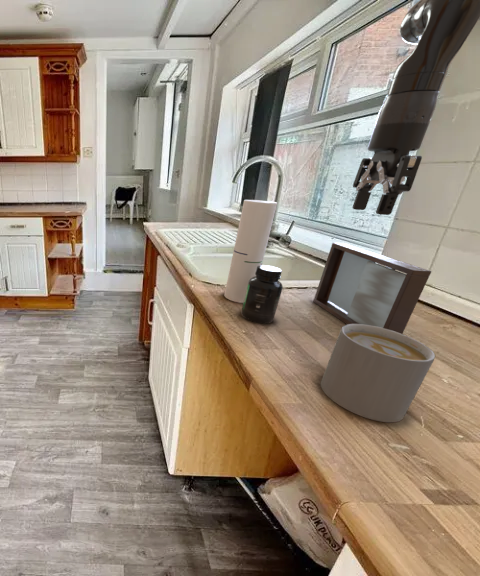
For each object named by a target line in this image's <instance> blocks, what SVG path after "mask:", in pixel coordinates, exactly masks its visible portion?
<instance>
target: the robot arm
mask: <svg viewBox="0 0 480 576" xmlns="http://www.w3.org/2000/svg"><path fill="white" fill-rule="evenodd" d="M479 21H480V0H418V1H417V2H416V3H415V4H414V5H413V6H412V7H411V8H410V9H409V10H408V11H407V13H406V14H405V16H404V17H403V19H402V20H401V24H400V27H399V34H400V37H401V39H402V41H404V42H405V43H407V44H410V45H416V46H415V48H414V49H413V51H412V52H411V53H410V54H409V55H408V56H407V57H405V59H403V60H401V62H399V64H398V65H397V67H396V68H395V70H394V73H393V75H392V78H391V81H390V84H389V87H388V90H387V93H386V96H385V98H384V100H383V103H382V106H381V107H380V110H379V112H378V115H377V117H376V121H375V124H374V127H373V130H372V133H371V136H370V139H369V141H368V146H367V151H368V152H373V156H372V157H367V158H366V157H363V158H362V159H361V162H360V164H359V167H358V169H357V172H356V175H355V177H354V180H353V184H352V188H355V189H356V190H355V191H356V192H357V193H356V196H355V199H354V200H353V204H352V210H356V211H365V210H366V208H367V206H368V203H369V200H370V197H371V195H372V191H373V190H374V188H375V187H376V186H377V185H379V184H380V185H382V194H381V196H380V199H379V202H378V205H377V208H376V210H375V214H376V215H379V216H380V215H381V216H382V215H384V216H389V215H391V214H392V212H393V210H394V208H395V205H396V202H397V199H398V197H399V196H400V195H402V194H403V193H404V192H407V193H408V192H410V191H411V189H412V187H413V184H414V181H415V178H416V176H417V174H418V171H419V167H420V164H421V162H422V159H423V156H422V155H410V152H416V151H418V150H420V149H421V147H422V144H423V141H424V139H425V136H426V133H427V131H428V128H429V126H430V123H431V121H432V118H433V115H434V112H435V110H436V107H437V103H438V98H439V95H440V92H441V90H442V87H443V84H444V82H445V79H446V77H447V73H448V71H449V69H450V66H451V64H452V62H453V60H454V59H455V58H456V56H457V54H458V53H459V52H460V50H461V49H462V47H463V46H464V45H465V42H466V41H467V39H468V38H469V36H470V35H471V33H472V32H473V30H474V28H475V27H476V25H477V23H478V22H479ZM403 182H405V183H403Z"/></svg>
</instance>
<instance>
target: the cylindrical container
mask: <svg viewBox="0 0 480 576" xmlns="http://www.w3.org/2000/svg"><path fill="white" fill-rule="evenodd" d="M277 207H278V202H277V201H271V200H259V199H244V200H243V204H242V209H241V213H240V218H239V224H238V228H237V233H236V238H235V242H234V243H235V244H234V247H233V252H232V256H231V260H230V261H231V262H230V266H229V271H228V276H227V281H226V285H225V290H224V294H223V295H224V297H225V298H226V299H228V301H229V300H230V301H232V302H235V303H239V304H243V303H244V298H245V294H246V290H247V286H248V282H249V280H250V279H251V278H252V277H255V276H256V275H255V273H256V270H257V266H260V265H263V262H264V258H265V255H266V251H267V247H268V242H269V238H270V234H271V230H272V227H273V222H274V218H275V214H276V209H277Z"/></svg>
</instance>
